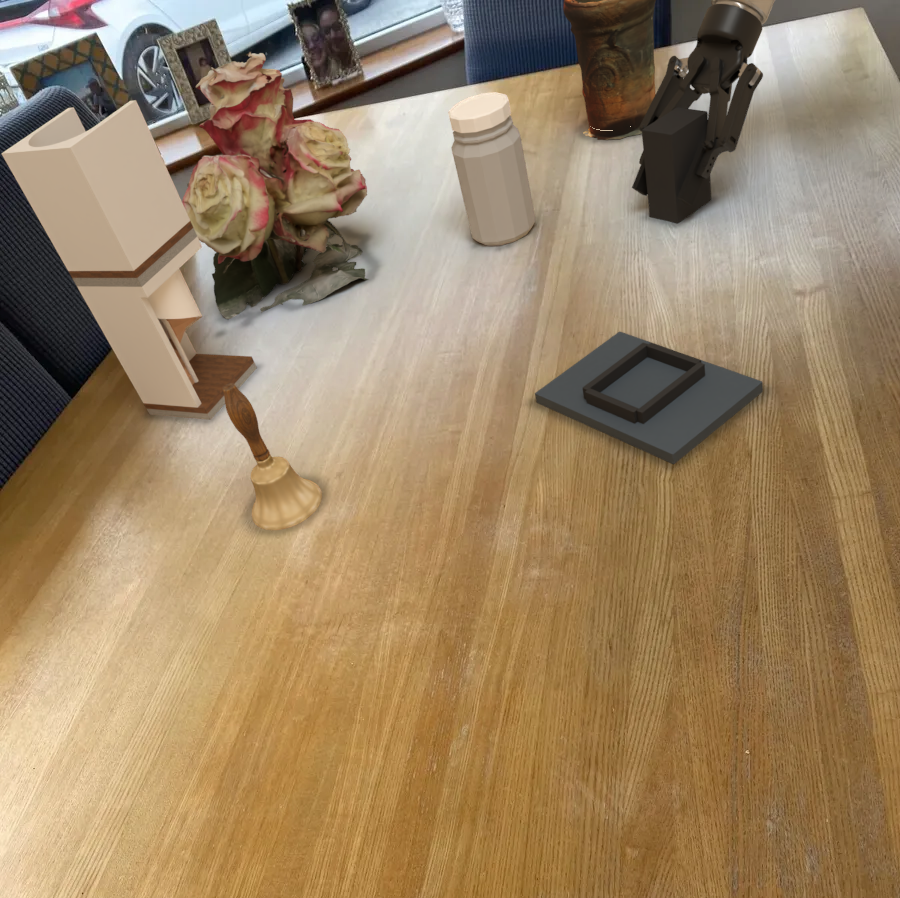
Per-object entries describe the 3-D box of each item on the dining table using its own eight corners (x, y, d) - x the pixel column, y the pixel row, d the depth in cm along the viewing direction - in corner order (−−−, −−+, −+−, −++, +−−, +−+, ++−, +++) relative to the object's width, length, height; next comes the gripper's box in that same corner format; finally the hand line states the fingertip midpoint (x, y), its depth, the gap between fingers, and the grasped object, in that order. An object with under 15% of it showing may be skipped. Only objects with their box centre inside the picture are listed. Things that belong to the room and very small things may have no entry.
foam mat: (763, 393, 99) (762, 369, 96) (673, 466, 94) (671, 442, 92) (621, 342, 111) (618, 319, 109) (536, 404, 107) (532, 382, 105)
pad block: (711, 201, 129) (707, 111, 121) (677, 225, 127) (671, 134, 119) (683, 195, 133) (677, 106, 124) (649, 218, 130) (641, 129, 122)
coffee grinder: (211, 421, 122) (70, 147, 97) (150, 415, 126) (1, 153, 102) (257, 369, 128) (136, 100, 103) (197, 366, 133) (68, 108, 108)
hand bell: (240, 530, 104) (176, 413, 93) (270, 481, 109) (213, 364, 98) (305, 532, 101) (247, 411, 90) (333, 481, 106) (282, 361, 95)
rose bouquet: (215, 339, 137) (115, 128, 116) (240, 248, 157) (159, 54, 136) (385, 298, 133) (313, 71, 112) (388, 210, 153) (328, 5, 132)
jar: (467, 254, 136) (436, 126, 124) (477, 221, 143) (449, 97, 130) (533, 244, 133) (508, 112, 121) (540, 211, 140) (518, 83, 127)
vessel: (658, 95, 159) (647, -41, 145) (677, 125, 149) (668, -18, 135) (574, 119, 161) (555, -14, 147) (587, 150, 151) (569, 11, 137)
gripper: (660, -3, 124) (591, 174, 130) (791, 3, 111) (707, 199, 117) (689, 25, 129) (621, 194, 135) (817, 34, 116) (736, 220, 123)
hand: (661, 196), depth 126 cm, fingers open, 7 cm apart
